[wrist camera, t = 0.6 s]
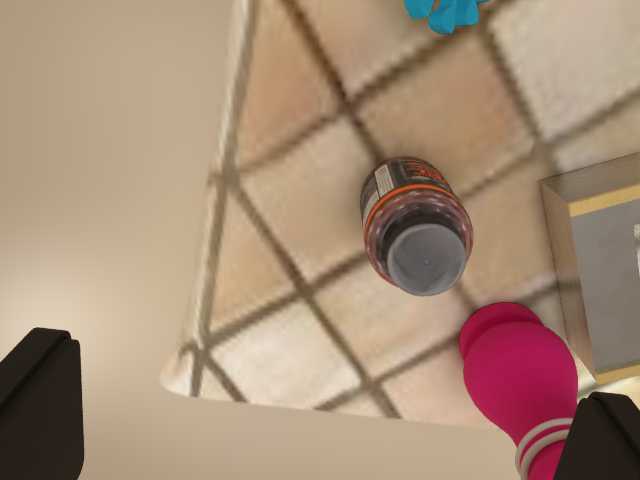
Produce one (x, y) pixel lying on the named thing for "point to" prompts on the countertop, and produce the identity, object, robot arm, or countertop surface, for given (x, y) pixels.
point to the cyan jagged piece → (445, 13)
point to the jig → (598, 263)
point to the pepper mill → (521, 383)
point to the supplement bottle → (414, 227)
